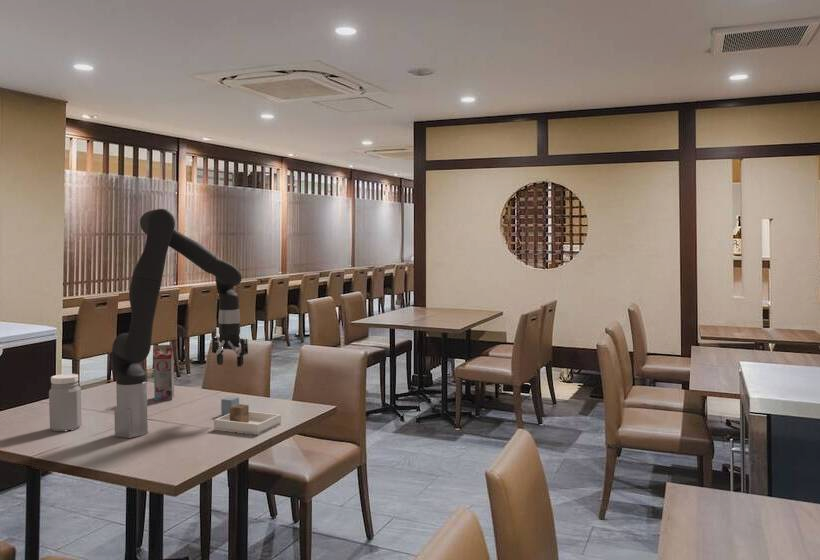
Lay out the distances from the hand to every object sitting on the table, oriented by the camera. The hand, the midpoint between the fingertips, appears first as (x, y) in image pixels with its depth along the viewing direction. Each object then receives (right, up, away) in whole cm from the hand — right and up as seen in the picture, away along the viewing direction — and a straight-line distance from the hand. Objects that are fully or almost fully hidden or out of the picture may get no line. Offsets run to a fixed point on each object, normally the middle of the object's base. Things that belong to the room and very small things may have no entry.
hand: (230, 365), depth 234 cm
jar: (-51, -19, -17) cm, 57 cm away
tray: (+10, -19, -16) cm, 27 cm away
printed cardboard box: (-34, -17, +25) cm, 46 cm away
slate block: (0, -18, +1) cm, 18 cm away
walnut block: (+7, -18, -15) cm, 24 cm away
